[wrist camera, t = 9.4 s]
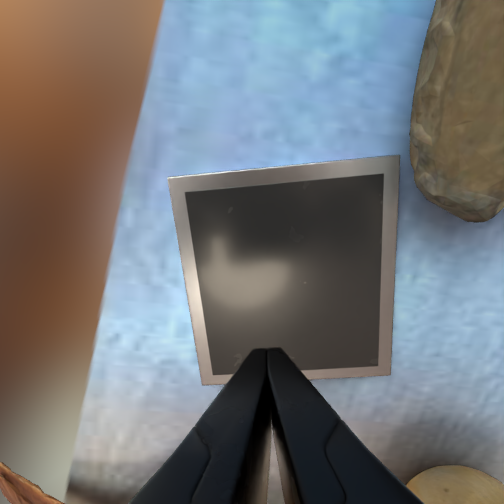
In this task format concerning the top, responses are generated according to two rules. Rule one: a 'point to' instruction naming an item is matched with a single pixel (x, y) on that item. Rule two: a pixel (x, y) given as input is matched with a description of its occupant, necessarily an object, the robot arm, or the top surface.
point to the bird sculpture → (22, 489)
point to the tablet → (291, 264)
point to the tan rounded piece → (456, 486)
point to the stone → (461, 110)
